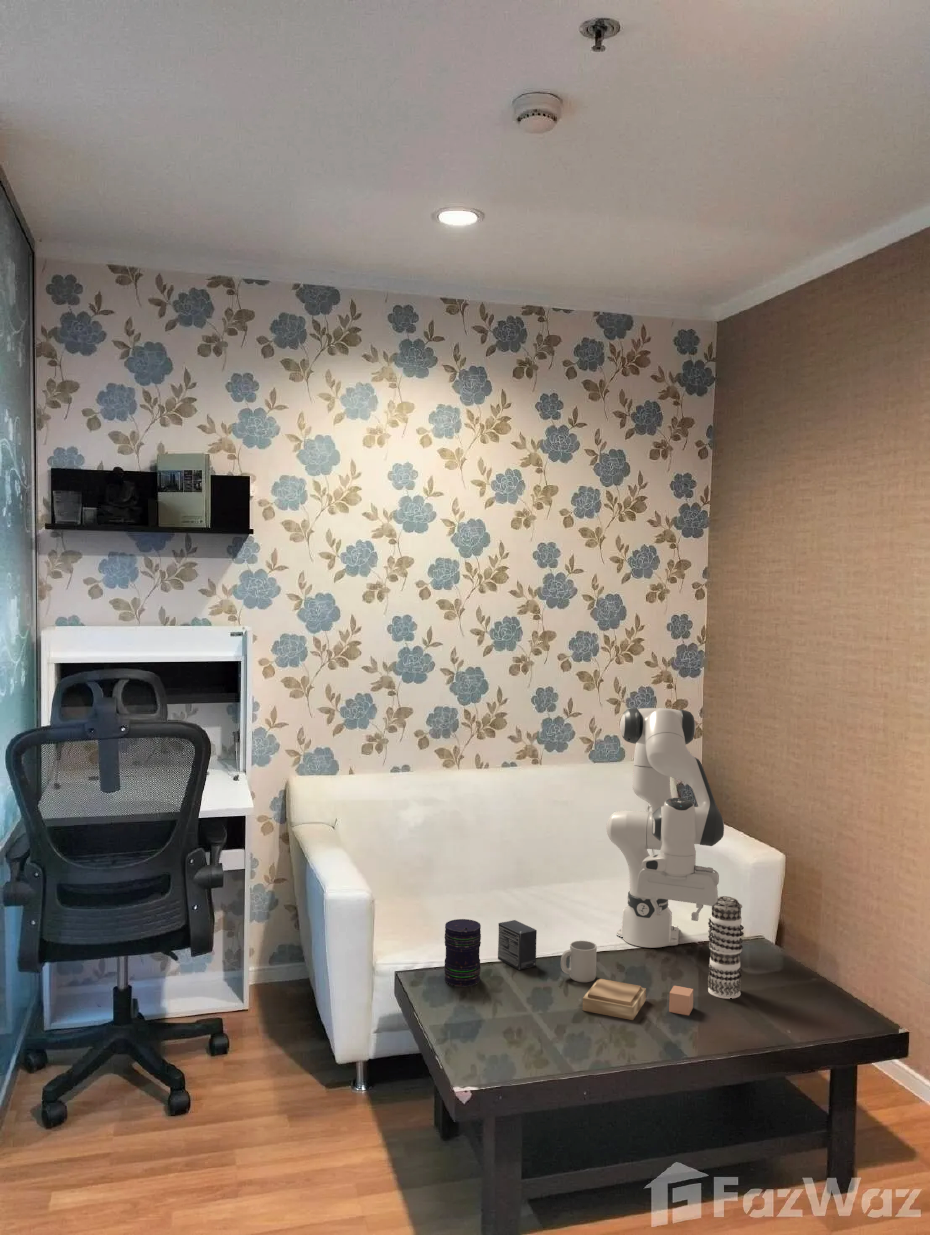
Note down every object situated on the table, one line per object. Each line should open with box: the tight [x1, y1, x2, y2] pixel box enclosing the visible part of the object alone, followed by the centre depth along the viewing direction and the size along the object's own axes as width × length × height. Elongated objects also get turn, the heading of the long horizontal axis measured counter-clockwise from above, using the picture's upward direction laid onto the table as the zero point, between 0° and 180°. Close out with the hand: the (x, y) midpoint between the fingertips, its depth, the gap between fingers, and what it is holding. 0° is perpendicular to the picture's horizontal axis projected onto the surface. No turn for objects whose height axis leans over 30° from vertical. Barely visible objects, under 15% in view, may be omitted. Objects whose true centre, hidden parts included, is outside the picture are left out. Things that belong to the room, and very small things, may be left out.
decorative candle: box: [707, 895, 744, 1000], centre depth 267 cm, size 9×9×25 cm
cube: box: [668, 985, 694, 1016], centre depth 256 cm, size 5×5×5 cm
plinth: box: [582, 978, 647, 1021], centre depth 258 cm, size 13×13×4 cm
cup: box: [560, 940, 598, 983], centre depth 275 cm, size 7×10×9 cm
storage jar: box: [443, 918, 482, 988], centre depth 273 cm, size 10×10×15 cm
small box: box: [497, 919, 538, 971], centre depth 286 cm, size 11×6×10 cm, turn 34°
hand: (676, 917), depth 257 cm, fingers open, 8 cm apart
